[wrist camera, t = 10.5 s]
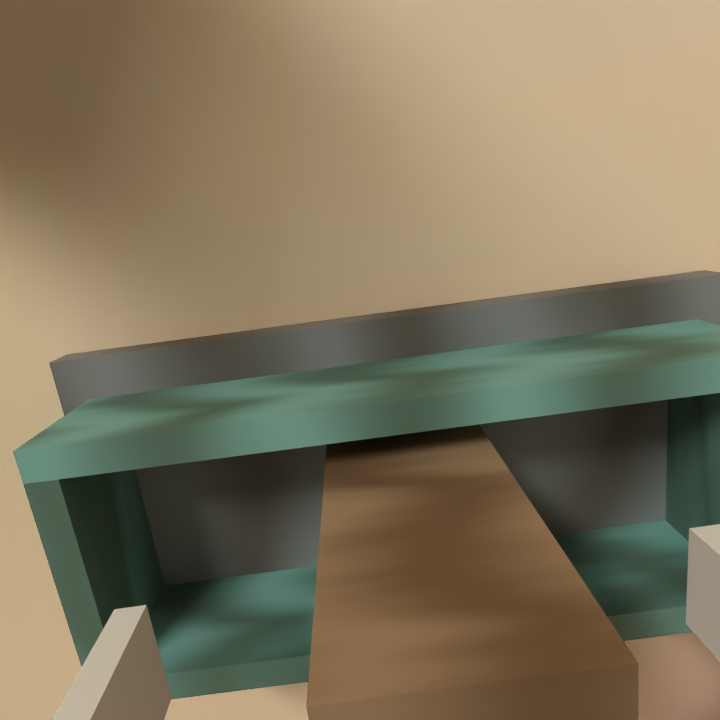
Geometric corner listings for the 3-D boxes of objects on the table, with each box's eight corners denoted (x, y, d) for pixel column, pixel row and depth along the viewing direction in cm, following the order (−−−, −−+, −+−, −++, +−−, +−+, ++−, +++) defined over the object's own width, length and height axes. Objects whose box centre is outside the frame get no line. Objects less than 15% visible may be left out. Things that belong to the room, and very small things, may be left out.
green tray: (140, 622, 23) (76, 749, 17) (66, 354, 20) (-40, 405, 14) (694, 550, 23) (806, 655, 17) (704, 270, 20) (843, 289, 14)
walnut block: (347, 538, 21) (351, 936, 9) (328, 419, 20) (305, 706, 8) (474, 521, 21) (637, 898, 9) (463, 401, 20) (637, 663, 8)
